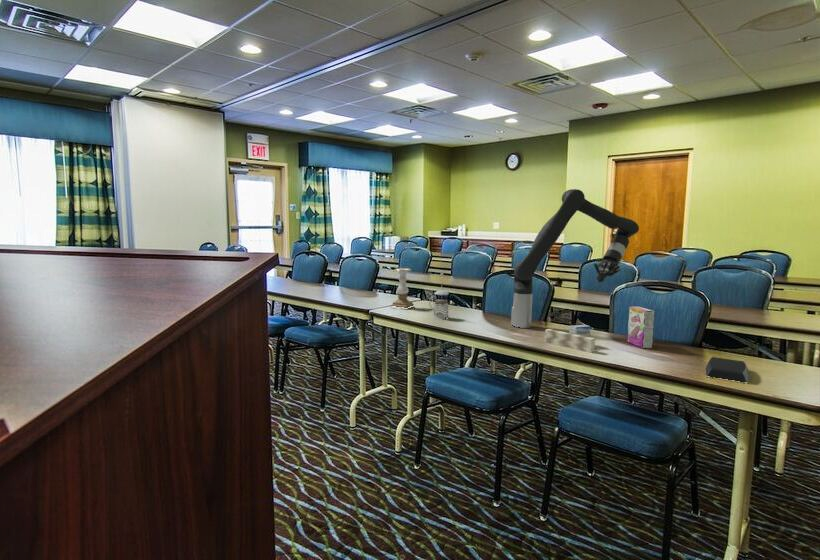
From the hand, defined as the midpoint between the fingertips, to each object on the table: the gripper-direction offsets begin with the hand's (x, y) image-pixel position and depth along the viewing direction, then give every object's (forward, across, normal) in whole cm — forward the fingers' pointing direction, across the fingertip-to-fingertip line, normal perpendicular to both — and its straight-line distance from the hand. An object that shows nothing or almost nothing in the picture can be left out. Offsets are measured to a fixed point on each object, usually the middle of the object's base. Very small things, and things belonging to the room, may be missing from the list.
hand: (599, 281), depth 220 cm
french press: (+41, -75, -2) cm, 85 cm away
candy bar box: (+19, +21, +18) cm, 34 cm away
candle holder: (+38, -112, 0) cm, 118 cm away
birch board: (+38, +3, -1) cm, 39 cm away
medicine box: (+34, +4, +3) cm, 35 cm away
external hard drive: (+30, +58, +8) cm, 66 cm away
